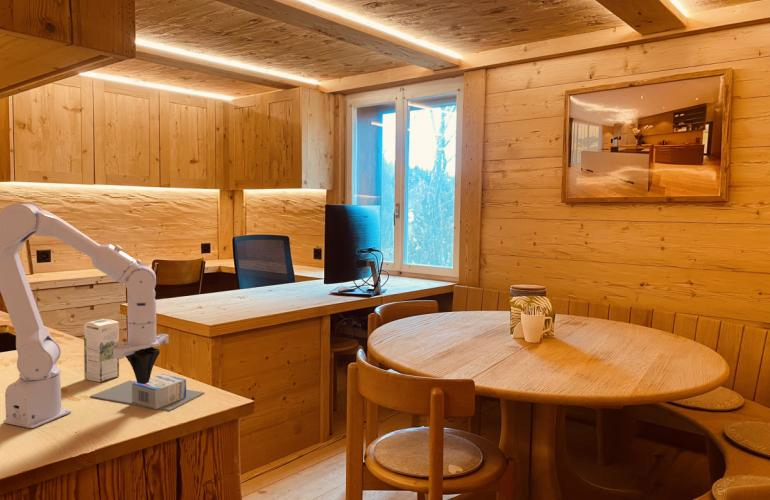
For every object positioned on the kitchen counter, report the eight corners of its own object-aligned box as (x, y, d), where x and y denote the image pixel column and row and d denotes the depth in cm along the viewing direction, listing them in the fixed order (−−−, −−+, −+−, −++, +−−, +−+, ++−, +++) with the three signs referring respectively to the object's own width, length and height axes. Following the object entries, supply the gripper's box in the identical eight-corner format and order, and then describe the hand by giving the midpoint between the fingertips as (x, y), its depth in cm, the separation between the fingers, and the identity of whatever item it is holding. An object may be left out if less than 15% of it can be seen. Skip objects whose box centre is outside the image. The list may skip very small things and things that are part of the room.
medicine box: (130, 383, 127) (162, 372, 135) (131, 403, 128) (162, 391, 135) (155, 390, 123) (186, 378, 131) (156, 410, 124) (187, 397, 132)
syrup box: (104, 373, 148) (103, 317, 147) (120, 377, 146) (119, 320, 144) (84, 379, 143) (82, 322, 142) (100, 383, 141) (99, 325, 139)
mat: (169, 411, 124) (169, 409, 124) (90, 397, 131) (90, 395, 131) (204, 393, 135) (204, 392, 135) (129, 381, 142) (129, 380, 142)
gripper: (132, 330, 116) (133, 395, 118) (179, 316, 130) (180, 375, 131) (104, 327, 119) (105, 391, 120) (154, 313, 132) (155, 371, 134)
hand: (143, 382), depth 126 cm, fingers closed
